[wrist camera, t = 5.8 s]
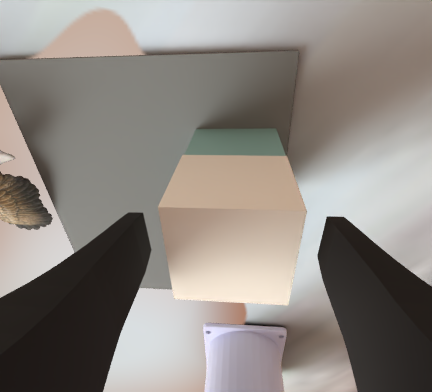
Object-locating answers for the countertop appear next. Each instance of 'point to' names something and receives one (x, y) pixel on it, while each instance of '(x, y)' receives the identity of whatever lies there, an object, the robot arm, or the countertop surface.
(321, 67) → the countertop surface
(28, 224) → the eagle figurine
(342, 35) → the countertop surface
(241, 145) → the teal brick
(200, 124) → the build mat
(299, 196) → the cream brick
